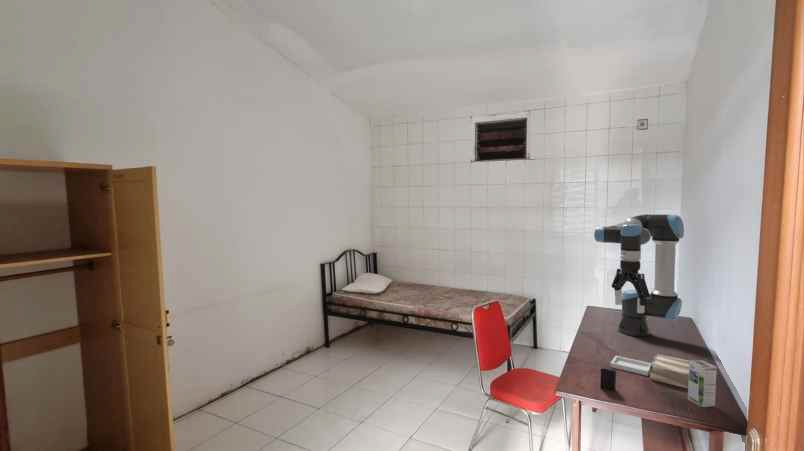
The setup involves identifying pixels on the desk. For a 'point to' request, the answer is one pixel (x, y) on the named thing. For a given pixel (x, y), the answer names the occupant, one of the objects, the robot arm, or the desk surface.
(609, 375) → the ink cartridge
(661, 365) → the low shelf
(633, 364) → the white tray
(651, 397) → the desk surface
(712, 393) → the syrup box
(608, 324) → the desk surface
